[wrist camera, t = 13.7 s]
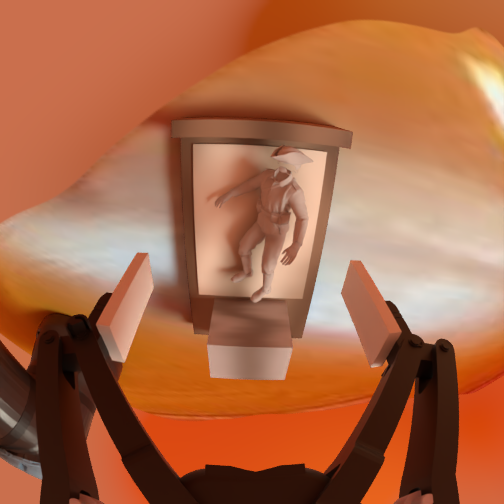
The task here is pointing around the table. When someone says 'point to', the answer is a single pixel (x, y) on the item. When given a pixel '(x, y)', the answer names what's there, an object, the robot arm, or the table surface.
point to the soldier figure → (272, 217)
